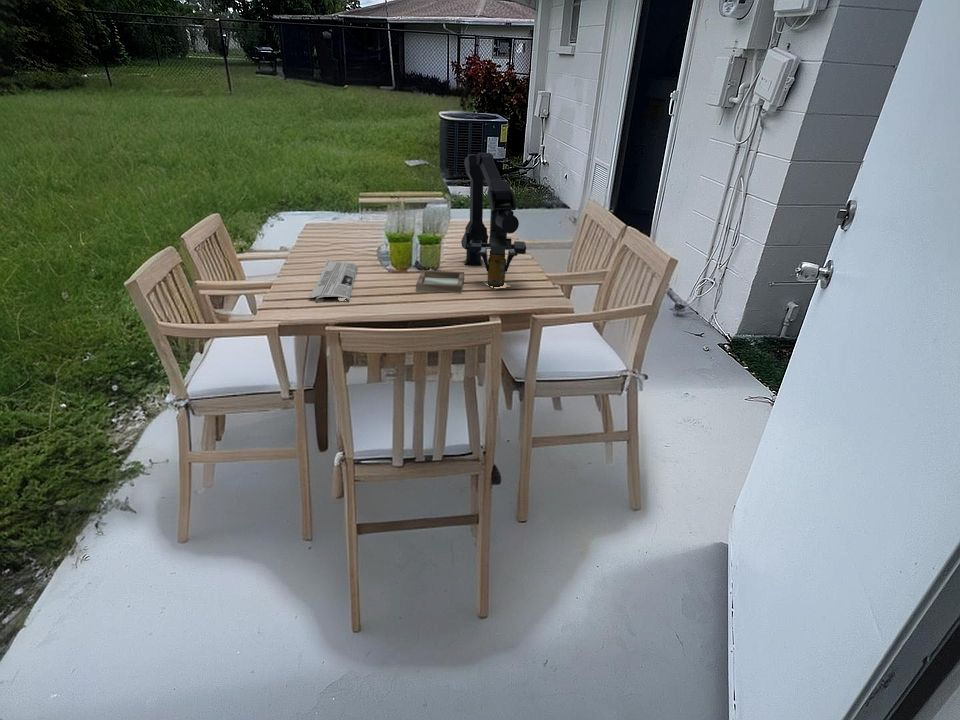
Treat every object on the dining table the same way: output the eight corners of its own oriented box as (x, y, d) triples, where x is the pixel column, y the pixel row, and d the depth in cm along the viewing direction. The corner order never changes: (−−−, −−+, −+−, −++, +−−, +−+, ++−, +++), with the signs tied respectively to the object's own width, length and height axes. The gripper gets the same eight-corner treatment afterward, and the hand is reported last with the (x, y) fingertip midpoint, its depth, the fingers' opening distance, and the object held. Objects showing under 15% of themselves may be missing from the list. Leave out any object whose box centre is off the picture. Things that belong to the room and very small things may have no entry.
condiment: (499, 280, 201) (501, 246, 195) (512, 287, 194) (514, 253, 189) (481, 283, 198) (482, 249, 192) (493, 290, 191) (495, 256, 186)
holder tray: (421, 277, 201) (421, 270, 200) (464, 278, 201) (464, 271, 200) (416, 291, 188) (416, 284, 187) (461, 293, 188) (461, 286, 186)
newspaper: (349, 303, 178) (348, 292, 177) (308, 304, 177) (307, 293, 175) (358, 268, 210) (357, 259, 208) (323, 268, 208) (322, 259, 206)
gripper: (469, 230, 179) (468, 277, 187) (528, 233, 179) (524, 280, 186) (470, 222, 189) (469, 267, 197) (526, 224, 189) (523, 269, 196)
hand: (496, 271), depth 194 cm, fingers closed on condiment, 6 cm apart
